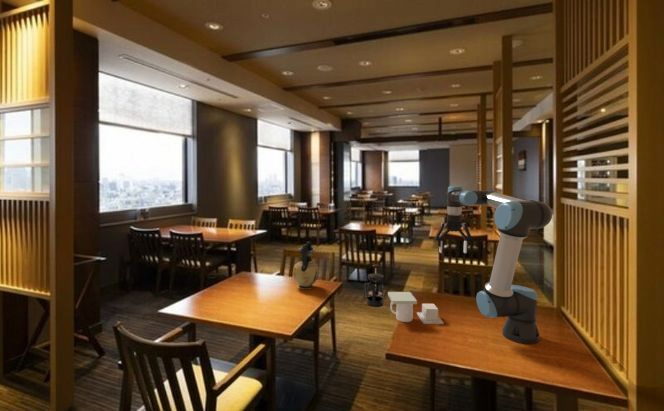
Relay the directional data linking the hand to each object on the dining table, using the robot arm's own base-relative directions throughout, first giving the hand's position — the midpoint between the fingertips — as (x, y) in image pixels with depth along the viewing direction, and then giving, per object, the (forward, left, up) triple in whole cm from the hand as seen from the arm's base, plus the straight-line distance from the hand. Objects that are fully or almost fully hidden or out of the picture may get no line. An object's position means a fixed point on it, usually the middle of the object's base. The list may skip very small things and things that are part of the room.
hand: (452, 252), depth 196 cm
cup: (-14, +31, -32) cm, 47 cm away
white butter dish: (-14, +16, -32) cm, 38 cm away
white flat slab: (-14, +31, -22) cm, 40 cm away
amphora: (+38, +83, -32) cm, 97 cm away
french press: (+7, +42, -32) cm, 53 cm away
